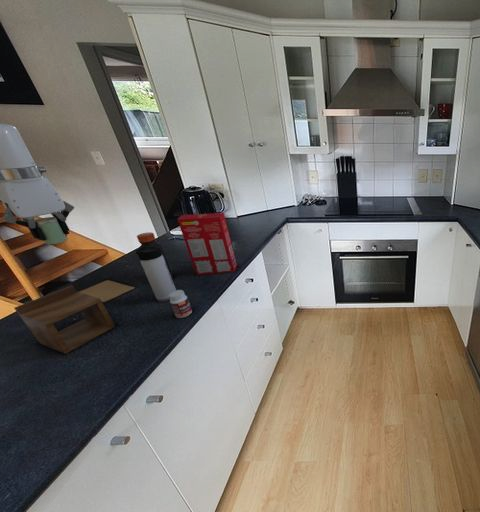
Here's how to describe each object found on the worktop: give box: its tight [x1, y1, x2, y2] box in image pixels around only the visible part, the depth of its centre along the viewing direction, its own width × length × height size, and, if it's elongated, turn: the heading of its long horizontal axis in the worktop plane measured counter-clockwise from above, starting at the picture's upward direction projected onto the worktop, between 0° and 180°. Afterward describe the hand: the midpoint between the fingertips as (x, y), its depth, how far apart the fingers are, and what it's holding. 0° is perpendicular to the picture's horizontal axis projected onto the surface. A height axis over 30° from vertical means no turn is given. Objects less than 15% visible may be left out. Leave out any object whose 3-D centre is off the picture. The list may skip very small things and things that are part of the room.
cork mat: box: [79, 279, 136, 303], centre depth 103 cm, size 16×10×1 cm, turn 72°
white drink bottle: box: [136, 231, 174, 280], centre depth 107 cm, size 7×7×20 cm
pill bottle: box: [169, 289, 193, 319], centre depth 90 cm, size 5×5×8 cm
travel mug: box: [135, 247, 177, 302], centre depth 96 cm, size 6×7×20 cm
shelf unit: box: [13, 284, 116, 355], centre depth 80 cm, size 12×12×13 cm
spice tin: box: [34, 216, 68, 245], centre depth 81 cm, size 5×5×7 cm
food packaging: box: [177, 212, 238, 276], centre depth 113 cm, size 15×5×25 cm, turn 104°
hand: (53, 236), depth 81 cm, fingers closed on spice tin, 4 cm apart
